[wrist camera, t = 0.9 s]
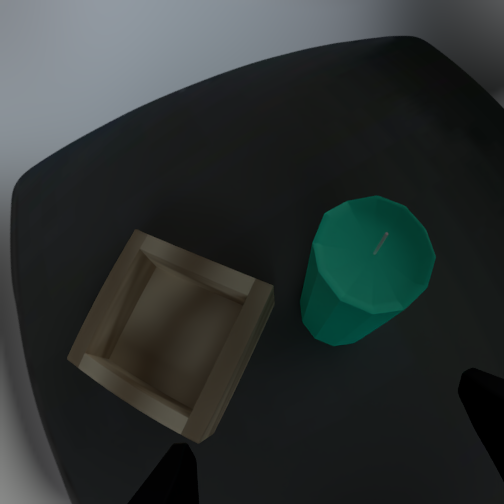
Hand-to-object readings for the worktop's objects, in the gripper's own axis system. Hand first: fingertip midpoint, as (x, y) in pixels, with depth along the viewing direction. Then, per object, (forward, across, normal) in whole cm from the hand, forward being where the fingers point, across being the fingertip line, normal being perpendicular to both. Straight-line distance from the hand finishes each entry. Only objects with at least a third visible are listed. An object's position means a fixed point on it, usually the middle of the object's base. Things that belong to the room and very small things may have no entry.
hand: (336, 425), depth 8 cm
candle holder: (+14, +8, +4) cm, 17 cm away
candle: (+15, -4, +4) cm, 16 cm away
